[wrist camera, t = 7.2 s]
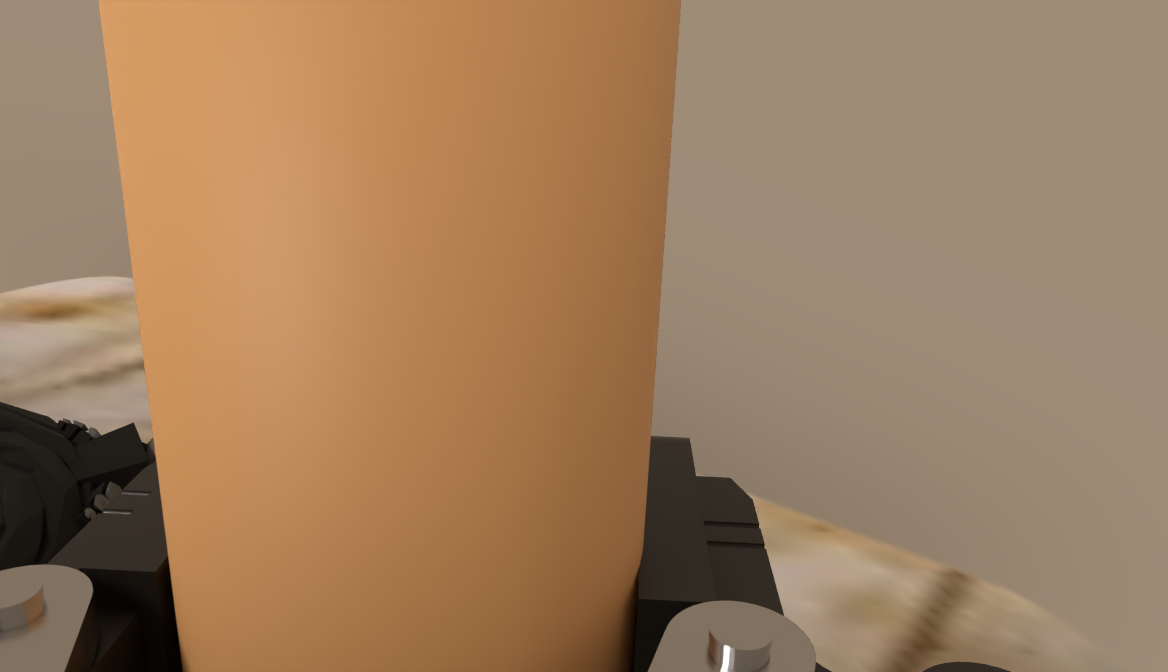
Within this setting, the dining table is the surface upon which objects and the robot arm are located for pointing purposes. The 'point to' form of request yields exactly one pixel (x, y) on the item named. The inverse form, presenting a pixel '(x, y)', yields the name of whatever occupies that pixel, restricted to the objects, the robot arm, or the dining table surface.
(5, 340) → the dining table surface
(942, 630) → the dining table surface
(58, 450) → the cable lock
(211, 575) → the tube
